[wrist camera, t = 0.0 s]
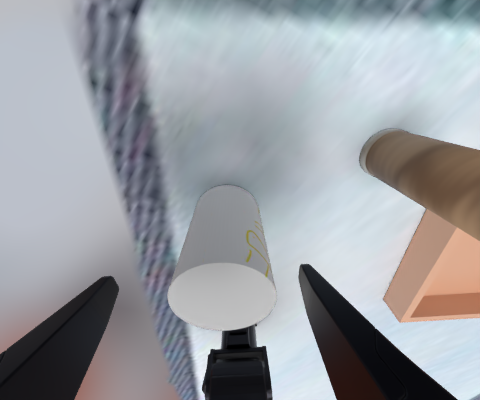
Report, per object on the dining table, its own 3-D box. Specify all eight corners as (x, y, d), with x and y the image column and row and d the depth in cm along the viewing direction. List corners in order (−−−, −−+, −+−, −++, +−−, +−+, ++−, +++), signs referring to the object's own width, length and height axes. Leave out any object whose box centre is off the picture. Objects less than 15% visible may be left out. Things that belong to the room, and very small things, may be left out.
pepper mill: (398, 173, 23) (546, 247, 12) (354, 176, 23) (462, 252, 12) (415, 126, 21) (621, 168, 10) (366, 130, 21) (514, 175, 10)
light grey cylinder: (256, 238, 27) (270, 330, 17) (198, 237, 27) (175, 331, 17) (261, 185, 23) (283, 262, 13) (192, 184, 23) (158, 262, 13)
